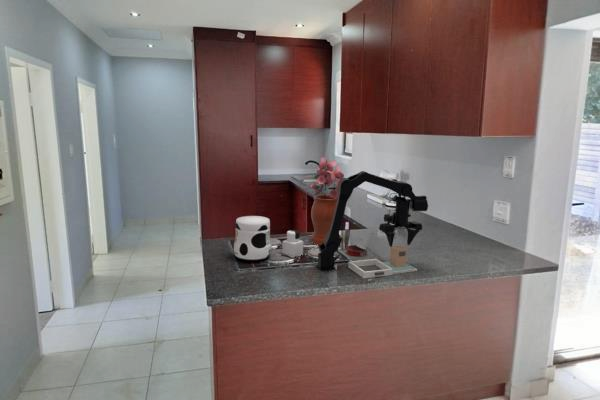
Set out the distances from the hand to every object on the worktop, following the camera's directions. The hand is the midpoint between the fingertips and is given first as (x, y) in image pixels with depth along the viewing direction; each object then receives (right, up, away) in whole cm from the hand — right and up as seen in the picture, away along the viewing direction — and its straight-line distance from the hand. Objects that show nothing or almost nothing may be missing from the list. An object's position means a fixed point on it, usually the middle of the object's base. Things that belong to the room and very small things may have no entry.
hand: (399, 245), depth 178 cm
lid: (0, -10, +2) cm, 10 cm away
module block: (0, -9, +2) cm, 9 cm away
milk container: (-66, -7, +10) cm, 67 cm away
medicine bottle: (-47, -6, +15) cm, 50 cm away
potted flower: (-30, -2, +39) cm, 49 cm away
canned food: (-16, -6, +20) cm, 27 cm away
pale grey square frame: (-14, -10, -3) cm, 17 cm away
